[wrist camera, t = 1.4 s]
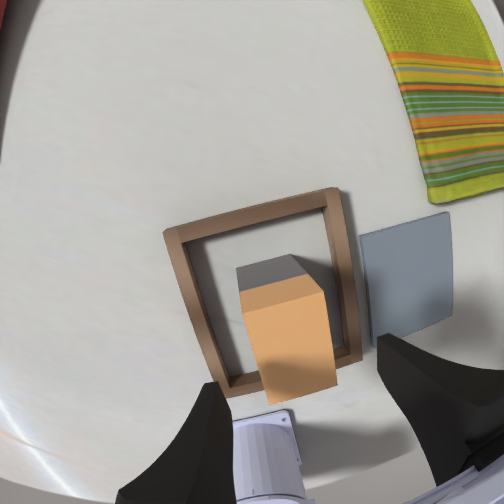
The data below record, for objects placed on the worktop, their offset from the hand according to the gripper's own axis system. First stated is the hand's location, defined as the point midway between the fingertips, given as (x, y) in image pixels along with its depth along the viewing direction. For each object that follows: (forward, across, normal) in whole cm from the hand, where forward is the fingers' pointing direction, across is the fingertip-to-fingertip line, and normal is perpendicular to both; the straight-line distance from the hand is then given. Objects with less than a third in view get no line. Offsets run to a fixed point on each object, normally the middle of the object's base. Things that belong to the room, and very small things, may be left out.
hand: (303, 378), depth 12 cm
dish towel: (+13, -21, -20) cm, 32 cm away
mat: (+11, -12, +3) cm, 16 cm away
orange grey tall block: (+10, 0, +1) cm, 11 cm away
